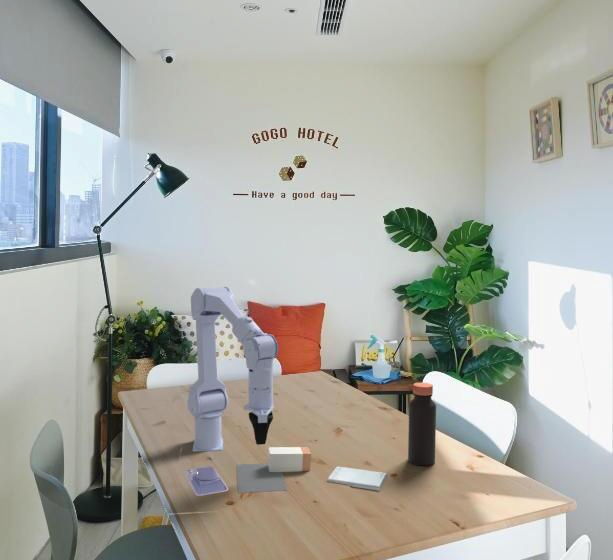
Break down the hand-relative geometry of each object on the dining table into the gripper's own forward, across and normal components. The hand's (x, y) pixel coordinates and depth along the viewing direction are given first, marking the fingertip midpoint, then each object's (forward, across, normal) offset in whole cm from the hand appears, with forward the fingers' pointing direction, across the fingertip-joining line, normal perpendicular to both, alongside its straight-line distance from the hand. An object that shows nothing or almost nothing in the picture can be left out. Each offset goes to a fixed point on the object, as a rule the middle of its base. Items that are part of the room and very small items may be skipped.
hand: (260, 443), depth 132 cm
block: (+6, -4, +2) cm, 8 cm away
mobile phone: (+9, 0, -13) cm, 16 cm away
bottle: (+9, -5, +42) cm, 43 cm away
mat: (+8, 0, 0) cm, 8 cm away
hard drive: (+9, +4, +23) cm, 25 cm away
